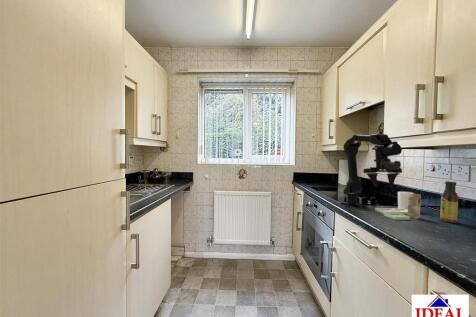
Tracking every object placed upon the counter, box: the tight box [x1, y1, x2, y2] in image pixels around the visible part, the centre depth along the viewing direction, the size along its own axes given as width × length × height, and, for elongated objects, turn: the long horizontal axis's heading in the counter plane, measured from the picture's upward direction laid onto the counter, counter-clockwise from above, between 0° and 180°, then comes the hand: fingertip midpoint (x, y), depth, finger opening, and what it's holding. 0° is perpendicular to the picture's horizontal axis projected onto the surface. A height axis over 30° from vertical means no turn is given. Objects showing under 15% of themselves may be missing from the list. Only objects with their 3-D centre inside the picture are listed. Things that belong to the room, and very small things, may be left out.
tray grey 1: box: [374, 207, 399, 215], centre depth 131 cm, size 8×8×2 cm
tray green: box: [383, 213, 411, 221], centre depth 121 cm, size 8×8×2 cm
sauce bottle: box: [439, 180, 459, 224], centre depth 116 cm, size 6×6×20 cm
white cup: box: [397, 191, 412, 210], centre depth 140 cm, size 8×8×10 cm
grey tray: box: [389, 207, 408, 216], centre depth 132 cm, size 8×8×2 cm
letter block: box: [407, 192, 422, 220], centre depth 122 cm, size 4×4×12 cm
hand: (383, 186), depth 125 cm, fingers open, 9 cm apart
